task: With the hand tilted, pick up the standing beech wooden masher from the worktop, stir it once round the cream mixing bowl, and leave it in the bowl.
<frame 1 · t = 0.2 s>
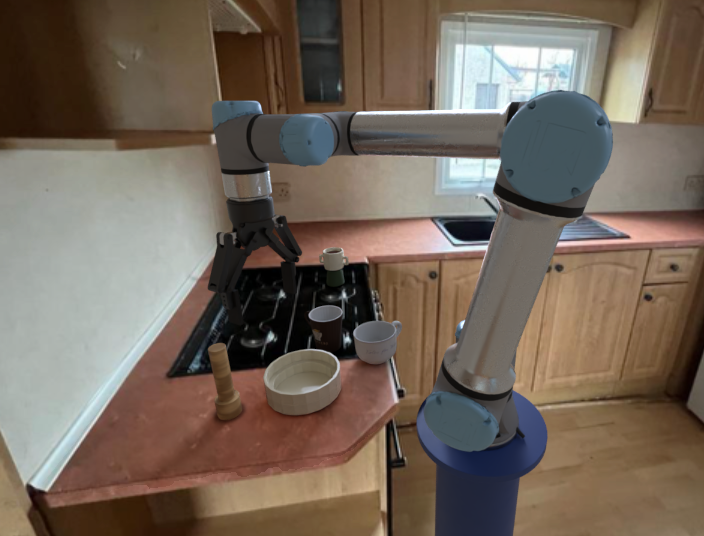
hand: (265, 306, 78), 25 cm above the worktop, tool pointing down, fingers open, 13 cm apart
character mug: (335, 285, 146), on the worktop
wooden masher: (230, 412, 87), on the worktop
mixing bowl: (305, 392, 92), on the worktop
teacup: (381, 355, 106), on the worktop
coffee mug: (326, 344, 111), on the worktop
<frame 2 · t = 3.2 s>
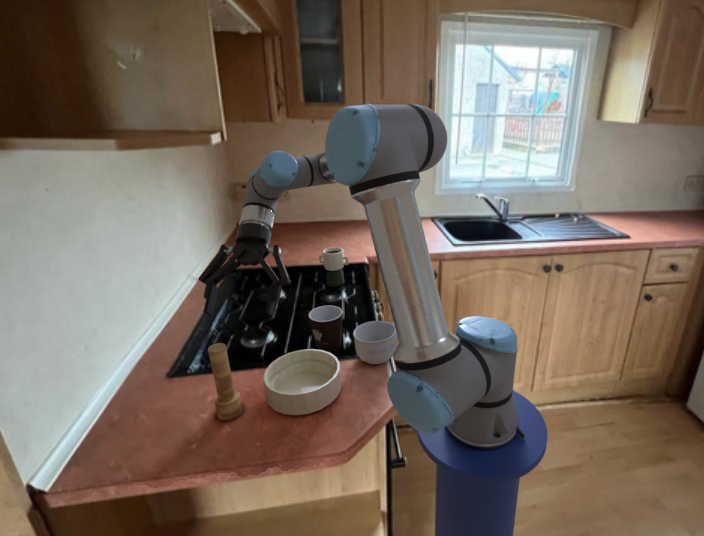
hand: (238, 314, 90), 18 cm above the worktop, tool tilted 45°, fingers open, 13 cm apart
nothing on the worktop moved.
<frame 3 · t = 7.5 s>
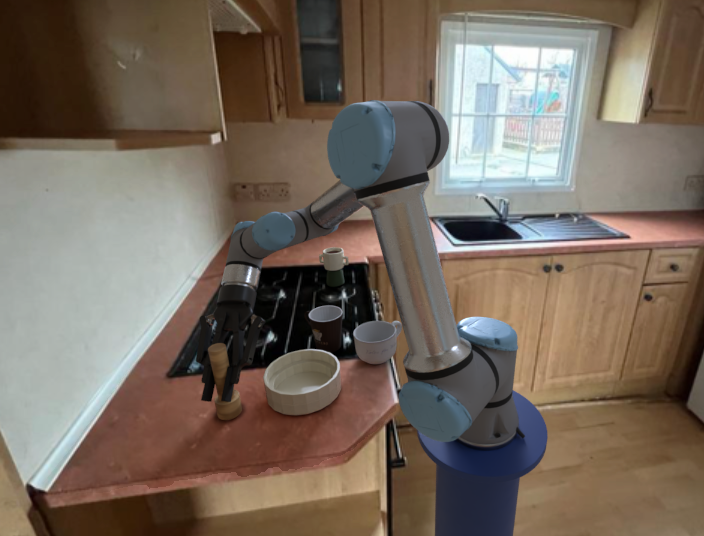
hand: (216, 400, 81), 6 cm above the worktop, tool tilted 45°, fingers closed on wooden masher, 3 cm apart
wooden masher: (230, 412, 87), on the worktop, touching gripper
everything else where it was.
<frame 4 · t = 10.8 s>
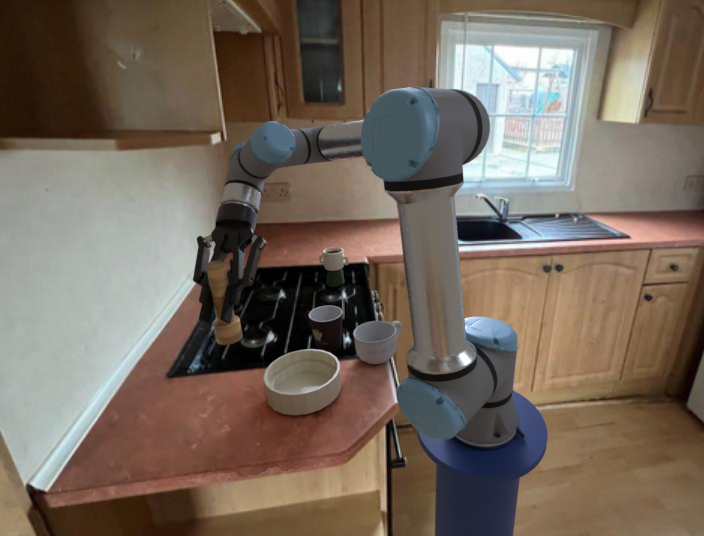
hand: (214, 320, 75), 24 cm above the worktop, tool tilted 45°, fingers closed on wooden masher, 3 cm apart
wooden masher: (229, 338, 81), point 17 cm above the worktop, touching gripper
everything else where it was.
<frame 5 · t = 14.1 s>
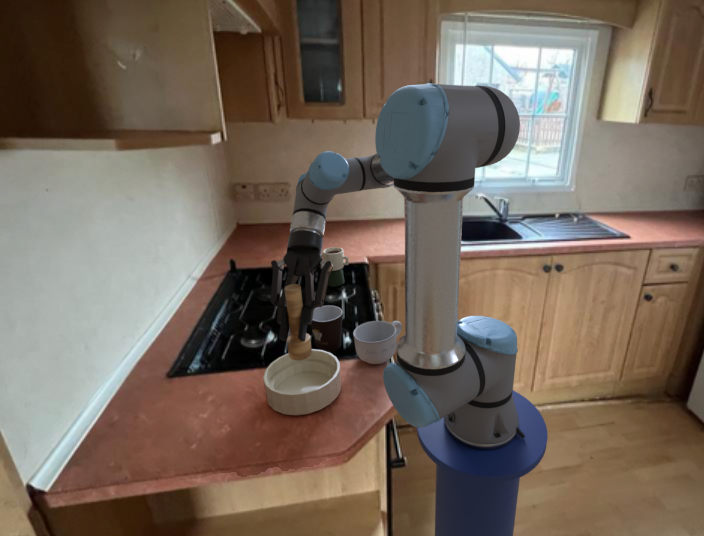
hand: (291, 339, 83), 16 cm above the worktop, tool tilted 45°, fingers closed on wooden masher, 3 cm apart
wooden masher: (300, 354, 89), point 10 cm above the worktop, touching gripper
everything else where it was.
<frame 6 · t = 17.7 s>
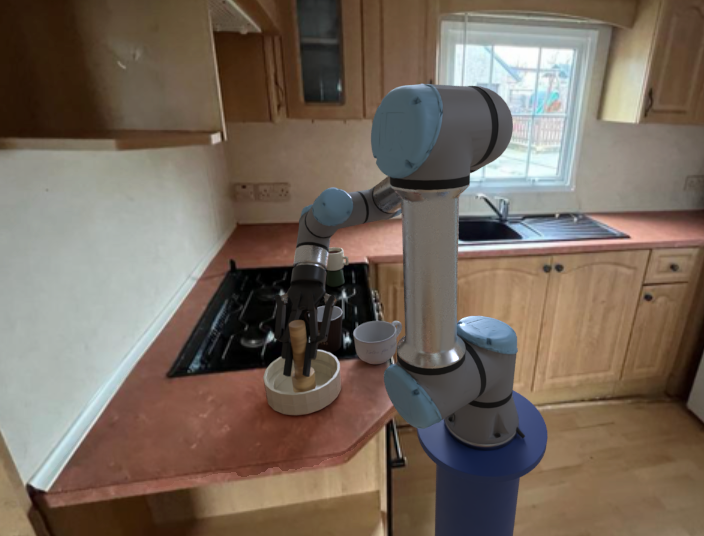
hand: (296, 375, 84), 9 cm above the worktop, tool tilted 45°, fingers closed on wooden masher, 3 cm apart
wooden masher: (304, 387, 89), point 3 cm above the worktop, touching gripper
everything else where it was.
when the fingers open (7 cm above the worktop, at t = 20.6 s): wooden masher stays where it is, resting on mixing bowl.
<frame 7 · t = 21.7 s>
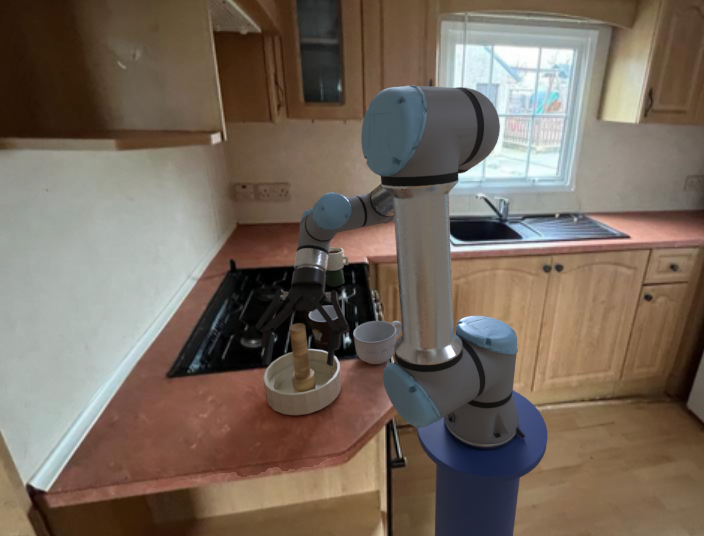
hand: (298, 364, 87), 9 cm above the worktop, tool tilted 45°, fingers open, 13 cm apart
wooden masher: (304, 388, 92), point 1 cm above the worktop, touching mixing bowl
everything else where it was.
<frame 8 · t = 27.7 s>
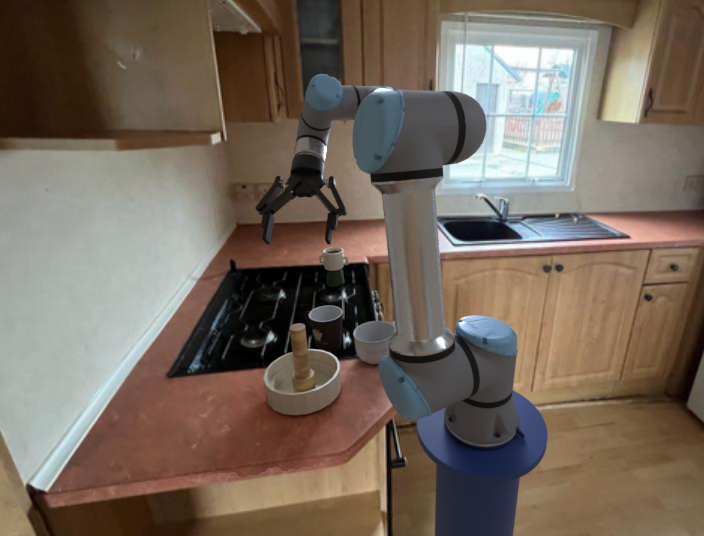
hand: (296, 241, 90), 33 cm above the worktop, tool tilted 45°, fingers open, 13 cm apart
nothing on the worktop moved.
at the end: wooden masher inside the target area in the mixing bowl (0.1 cm from its centre), point 0.8 cm above the mixing bowl's base; wooden masher moved 15.6 cm from its start; the gripper is holding nothing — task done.
